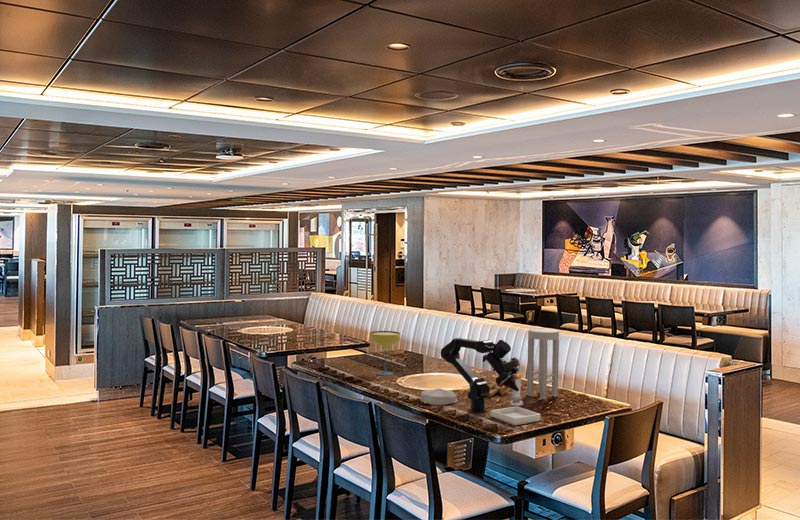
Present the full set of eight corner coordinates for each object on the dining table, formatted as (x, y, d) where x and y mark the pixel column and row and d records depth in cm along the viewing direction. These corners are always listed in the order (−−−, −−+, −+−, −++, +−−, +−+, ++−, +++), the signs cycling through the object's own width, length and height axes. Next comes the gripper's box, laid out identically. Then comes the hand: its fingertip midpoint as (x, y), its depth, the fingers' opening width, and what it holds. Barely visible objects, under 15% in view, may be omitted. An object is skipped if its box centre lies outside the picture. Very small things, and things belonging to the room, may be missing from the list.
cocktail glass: (393, 378, 384) (394, 335, 383) (365, 375, 390) (366, 333, 389) (404, 372, 400) (404, 332, 400) (377, 370, 407) (377, 330, 406)
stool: (563, 396, 343) (564, 330, 342) (544, 400, 333) (545, 333, 332) (540, 391, 355) (541, 327, 354) (521, 395, 346) (522, 329, 345)
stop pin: (508, 402, 301) (508, 373, 301) (520, 402, 302) (521, 373, 302) (511, 405, 295) (512, 376, 295) (524, 405, 296) (525, 376, 296)
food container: (413, 398, 337) (413, 385, 337) (448, 395, 344) (448, 382, 344) (428, 408, 318) (428, 394, 318) (465, 404, 325) (465, 391, 325)
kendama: (496, 401, 336) (512, 390, 351) (494, 389, 336) (509, 379, 351) (483, 401, 341) (499, 391, 355) (481, 390, 341) (497, 379, 355)
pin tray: (490, 416, 301) (490, 410, 301) (516, 412, 310) (516, 406, 309) (513, 425, 288) (513, 418, 287) (540, 420, 296) (540, 414, 296)
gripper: (502, 355, 291) (526, 382, 287) (515, 349, 308) (537, 375, 303) (485, 371, 295) (508, 398, 291) (498, 364, 312) (520, 390, 307)
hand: (519, 389), depth 298 cm, fingers closed on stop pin, 4 cm apart
